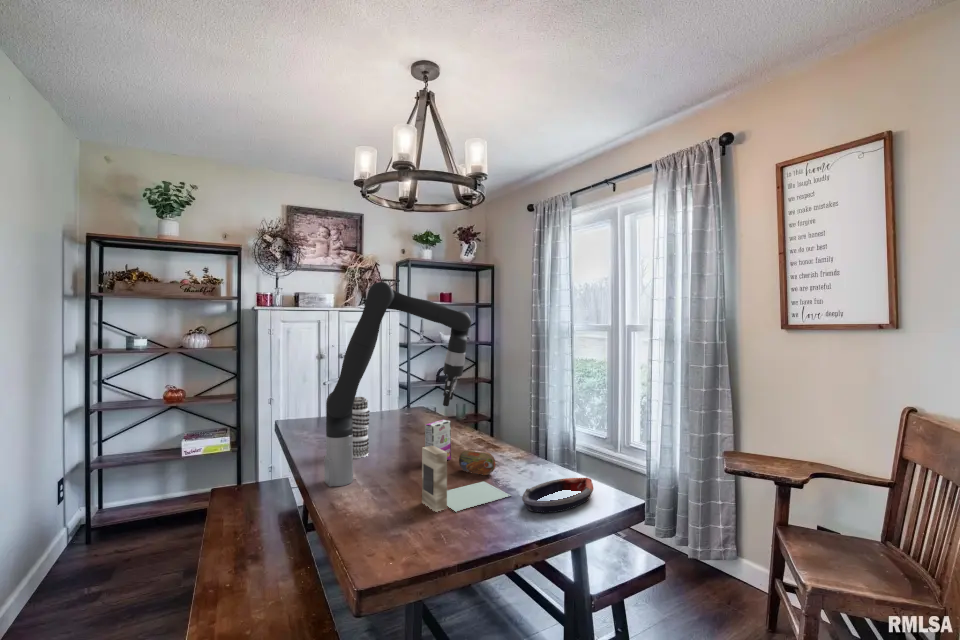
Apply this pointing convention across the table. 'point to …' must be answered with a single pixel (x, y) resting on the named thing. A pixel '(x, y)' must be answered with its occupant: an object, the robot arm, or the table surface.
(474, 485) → the rubber mat
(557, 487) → the dark oval ring
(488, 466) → the tin
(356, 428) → the decorative candle
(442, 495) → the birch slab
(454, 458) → the table surface
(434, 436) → the candy bar box
